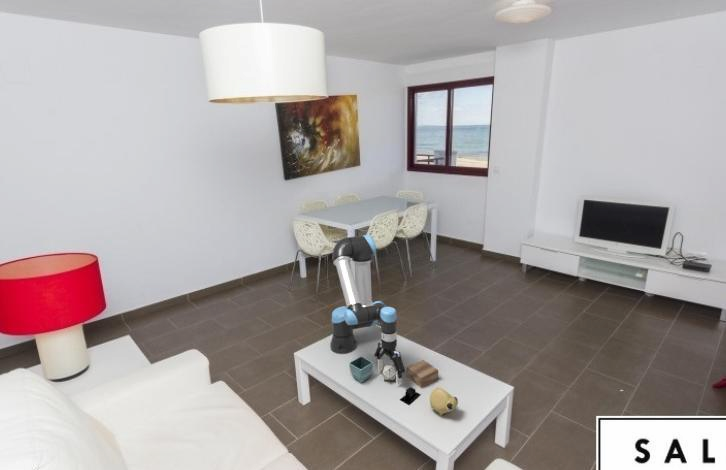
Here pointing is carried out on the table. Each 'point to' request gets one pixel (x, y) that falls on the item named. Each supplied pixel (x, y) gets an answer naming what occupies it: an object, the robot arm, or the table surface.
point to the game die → (389, 372)
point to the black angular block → (410, 396)
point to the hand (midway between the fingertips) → (389, 376)
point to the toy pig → (442, 401)
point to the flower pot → (361, 368)
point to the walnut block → (422, 373)
